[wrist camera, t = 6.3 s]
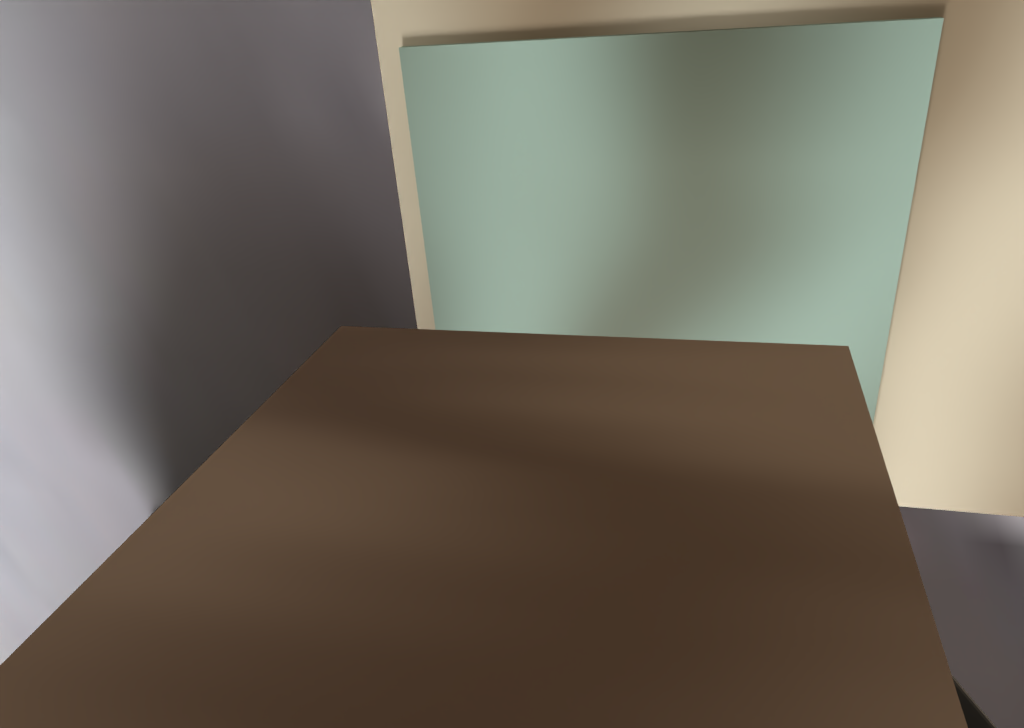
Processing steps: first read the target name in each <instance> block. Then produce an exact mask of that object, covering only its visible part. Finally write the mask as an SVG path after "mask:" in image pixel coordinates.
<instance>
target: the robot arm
mask: <svg viewBox="0 0 1024 728" xmlns="http://www.w3.org/2000/svg"><path fill="white" fill-rule="evenodd" d="M952 679H953V682H954V685H955V688H956V691H957V695H958V698H959V701H960V704H961V707H962V711H963V714H964V717H965V720H966V723H967V726H968V728H996V726H995V725H994V724H993V723H992V722H991V720H990V719H989V718H988V717H987V716H986V715H985V713H984V712H983V711H982V710H981V709H980V708H979V706H978V705H977V704H976V703H975V702H974V701H973V699H972V698H971V697H970V696H969V695H968V694H967V692H966V691H965V690H964V689H963V688H962V686H961V685H960V684H959V683H958V682H957V681H956V679H955V678H954V677H953V676H952Z"/></svg>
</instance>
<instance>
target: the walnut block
mask: <svg viewBox="0 0 1024 728" xmlns="http://www.w3.org/2000/svg"><path fill="white" fill-rule="evenodd" d="M0 728H968V726H967V723H966V720H965V717H964V714H963V711H962V707H961V704H960V701H959V698H958V695H957V691H956V688H955V685H954V682H953V679H952V675H951V672H950V669H949V666H948V663H947V659H946V656H945V653H944V650H943V647H942V643H941V640H940V637H939V634H938V631H937V627H936V624H935V621H934V618H933V615H932V611H931V608H930V605H929V602H928V599H927V595H926V592H925V589H924V586H923V583H922V579H921V576H920V573H919V570H918V567H917V564H916V560H915V557H914V554H913V551H912V548H911V544H910V541H909V538H908V535H907V532H906V528H905V525H904V522H903V519H902V516H901V512H900V509H899V506H898V503H897V500H896V496H895V493H894V490H893V487H892V484H891V480H890V477H889V474H888V471H887V468H886V464H885V461H884V458H883V455H882V452H881V448H880V445H879V442H878V439H877V436H876V432H875V429H874V426H873V423H872V420H871V416H870V413H869V410H868V407H867V404H866V401H865V397H864V394H863V391H862V388H861V385H860V381H859V378H858V375H857V372H856V369H855V365H854V362H853V359H852V356H851V353H850V349H849V346H837V345H812V344H787V343H761V342H736V341H710V340H685V339H659V338H634V337H609V336H583V335H558V334H532V333H507V332H482V331H456V330H431V329H405V328H380V327H354V326H341V327H340V328H339V329H338V330H337V331H336V332H335V333H334V334H333V335H332V336H331V337H330V338H329V339H328V340H327V341H326V342H325V343H324V344H323V345H322V346H321V347H320V348H319V349H318V350H316V351H315V352H314V353H313V354H312V355H311V356H310V357H309V358H308V359H307V360H306V361H305V362H304V363H303V364H302V365H301V366H300V367H299V368H298V369H297V370H296V371H295V372H294V373H293V374H292V375H291V376H290V377H289V378H288V379H287V380H286V381H285V382H284V383H283V384H282V385H281V386H280V387H279V388H278V389H277V390H276V391H275V392H274V393H273V394H272V395H271V396H270V397H269V398H268V399H267V400H266V401H265V402H264V403H263V404H262V405H261V406H260V407H259V408H258V409H257V410H256V411H255V412H254V413H253V414H252V415H251V416H250V417H249V418H248V419H247V420H246V421H245V422H244V423H243V424H242V425H241V426H240V427H239V428H238V429H237V430H236V431H235V432H234V433H233V434H232V435H231V436H230V437H229V438H228V439H227V440H226V441H225V442H224V443H223V444H222V445H221V446H220V447H219V448H218V449H217V450H216V451H215V452H214V453H213V454H212V455H211V456H210V457H209V458H208V459H207V460H206V461H205V462H204V463H203V464H202V465H201V466H200V467H199V468H198V469H197V470H196V471H195V472H194V473H193V474H192V475H191V476H190V477H189V478H188V479H187V480H186V481H185V482H184V483H183V484H182V485H181V486H180V487H179V488H178V489H177V490H176V491H175V492H174V493H173V494H172V495H171V496H170V497H169V498H168V499H167V500H166V501H165V502H164V503H163V504H162V505H161V506H160V507H159V508H158V509H157V510H156V511H155V512H154V513H153V514H152V515H151V516H150V517H149V518H148V519H147V520H146V521H145V522H144V523H143V524H142V525H141V526H140V527H139V528H138V529H137V530H136V531H135V532H134V533H133V534H132V535H131V536H130V537H129V538H128V539H127V540H126V541H125V542H124V543H123V544H122V545H121V546H120V547H119V548H118V549H117V550H116V551H115V552H114V553H113V554H112V555H111V556H110V557H109V558H108V559H107V560H106V561H105V562H104V563H103V564H102V565H101V566H100V567H99V568H98V569H97V570H96V571H95V572H94V573H93V574H92V575H91V576H90V577H89V578H88V579H87V580H86V581H85V582H84V583H83V584H82V585H81V586H80V587H79V588H78V589H77V590H76V591H75V592H74V593H73V594H72V595H71V596H70V597H69V598H68V599H67V600H66V601H65V602H64V603H63V604H62V605H61V606H60V607H59V608H58V609H57V610H56V611H55V612H54V613H53V614H52V615H51V616H50V617H49V618H47V619H46V620H45V621H44V622H43V623H42V624H41V625H40V626H39V627H38V628H37V629H36V630H35V631H34V632H33V633H32V634H31V635H30V636H29V637H28V638H27V639H26V640H25V641H24V642H23V643H22V644H21V645H20V646H19V647H18V648H17V649H16V650H15V651H14V652H13V653H12V654H11V655H10V656H9V657H8V658H7V659H6V660H5V661H4V662H3V663H2V664H1V665H0Z"/></svg>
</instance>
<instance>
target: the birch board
mask: <svg viewBox="0 0 1024 728" xmlns="http://www.w3.org/2000/svg"><path fill="white" fill-rule="evenodd" d="M371 6H372V13H373V20H374V27H375V34H376V41H377V48H378V55H379V62H380V69H381V76H382V83H383V90H384V97H385V104H386V111H387V118H388V125H389V132H390V139H391V146H392V153H393V160H394V167H395V174H396V181H397V188H398V195H399V202H400V209H401V216H402V223H403V230H404V237H405V244H406V251H407V258H408V265H409V272H410V279H411V286H412V293H413V300H414V307H415V314H416V321H417V328H418V329H431V330H456V331H482V332H507V333H532V334H558V335H583V336H609V337H634V338H659V339H685V340H710V341H736V342H761V343H787V344H812V345H837V346H849V349H850V353H851V356H852V359H853V362H854V365H855V369H856V372H857V375H858V378H859V381H860V385H861V388H862V391H863V394H864V397H865V401H866V404H867V407H868V410H869V413H870V416H871V420H872V423H873V426H874V429H875V432H876V436H877V439H878V442H879V445H880V448H881V452H882V455H883V458H884V461H885V464H886V468H887V471H888V474H889V477H890V480H891V484H892V487H893V490H894V493H895V496H896V500H897V503H898V506H904V507H915V508H927V509H939V510H950V511H962V512H973V513H985V514H996V515H1008V516H1019V517H1024V0H371Z"/></svg>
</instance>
